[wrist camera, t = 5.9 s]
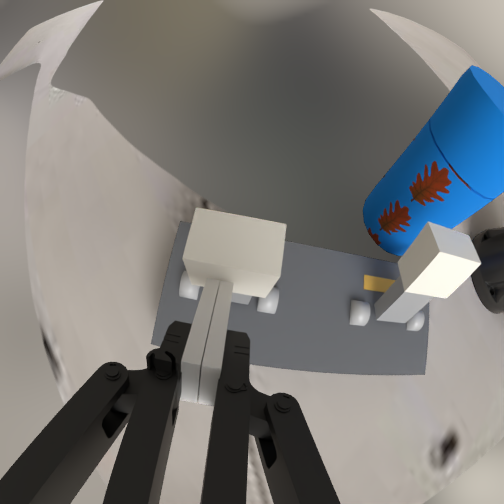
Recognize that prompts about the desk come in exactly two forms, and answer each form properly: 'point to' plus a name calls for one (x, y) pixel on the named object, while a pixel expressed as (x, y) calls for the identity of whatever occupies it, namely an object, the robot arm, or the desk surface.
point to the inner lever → (428, 272)
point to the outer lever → (235, 252)
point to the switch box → (311, 314)
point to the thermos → (443, 166)
